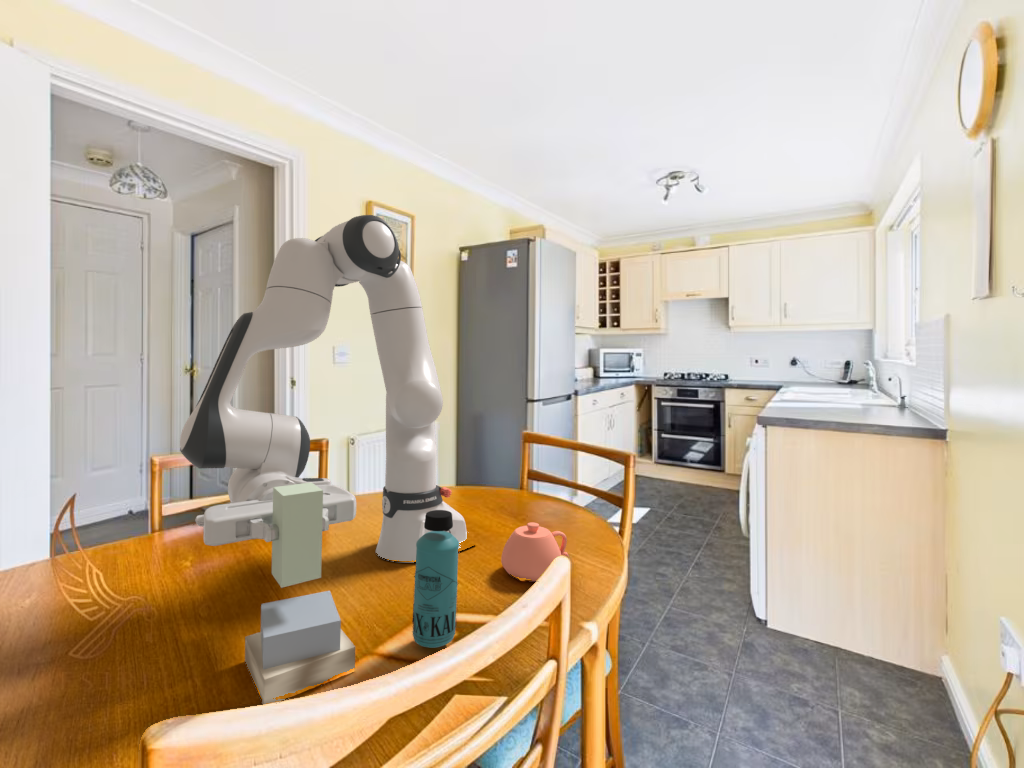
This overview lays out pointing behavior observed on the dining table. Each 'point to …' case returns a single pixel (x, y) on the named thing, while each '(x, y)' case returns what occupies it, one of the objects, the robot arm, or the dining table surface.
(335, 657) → the tower base
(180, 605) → the dining table surface
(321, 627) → the tower top
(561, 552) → the sugar bowl
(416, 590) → the beverage bottle
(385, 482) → the robot arm
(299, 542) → the sage block
